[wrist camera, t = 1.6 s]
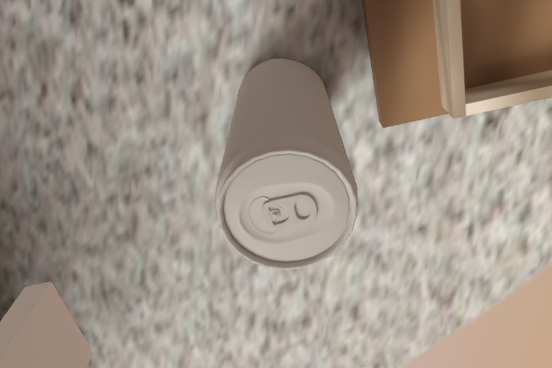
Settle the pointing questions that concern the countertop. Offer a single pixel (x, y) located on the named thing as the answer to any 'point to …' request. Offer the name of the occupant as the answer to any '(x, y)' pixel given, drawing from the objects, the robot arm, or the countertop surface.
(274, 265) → the beverage can
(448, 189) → the countertop surface
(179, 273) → the countertop surface
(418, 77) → the socket board
